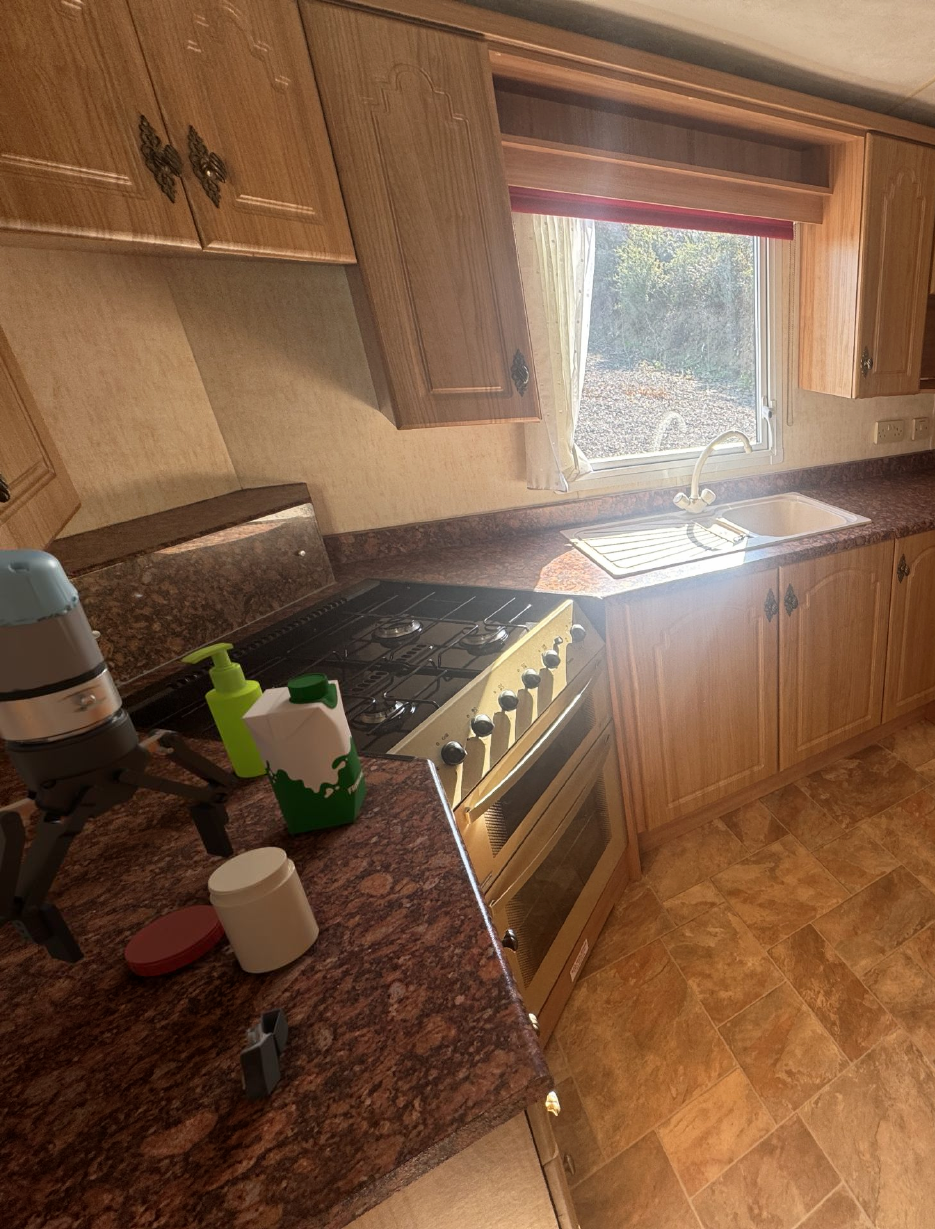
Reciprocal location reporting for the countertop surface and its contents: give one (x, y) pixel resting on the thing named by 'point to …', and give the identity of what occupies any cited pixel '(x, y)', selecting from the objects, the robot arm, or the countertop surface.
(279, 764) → the milk carton
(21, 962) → the countertop surface
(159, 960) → the jam lid
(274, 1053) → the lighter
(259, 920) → the jam jar
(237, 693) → the soap dispenser
